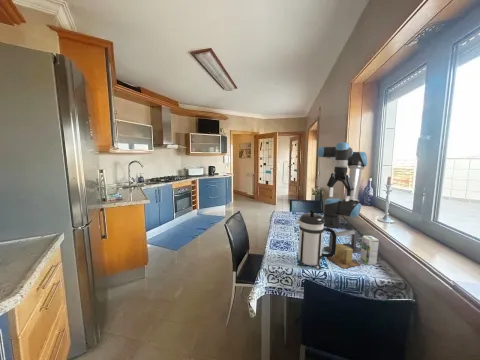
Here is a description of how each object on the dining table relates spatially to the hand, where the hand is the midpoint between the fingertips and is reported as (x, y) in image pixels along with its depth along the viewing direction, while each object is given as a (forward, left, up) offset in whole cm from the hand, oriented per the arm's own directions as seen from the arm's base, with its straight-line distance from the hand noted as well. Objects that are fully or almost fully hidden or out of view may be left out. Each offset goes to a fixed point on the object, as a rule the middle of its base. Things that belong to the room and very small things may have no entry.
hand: (338, 198), depth 135 cm
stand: (+4, +10, -31) cm, 33 cm away
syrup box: (+2, +26, -31) cm, 40 cm away
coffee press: (+33, +17, -31) cm, 48 cm away
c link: (+15, +21, -30) cm, 40 cm away
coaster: (+15, +21, -31) cm, 40 cm away
